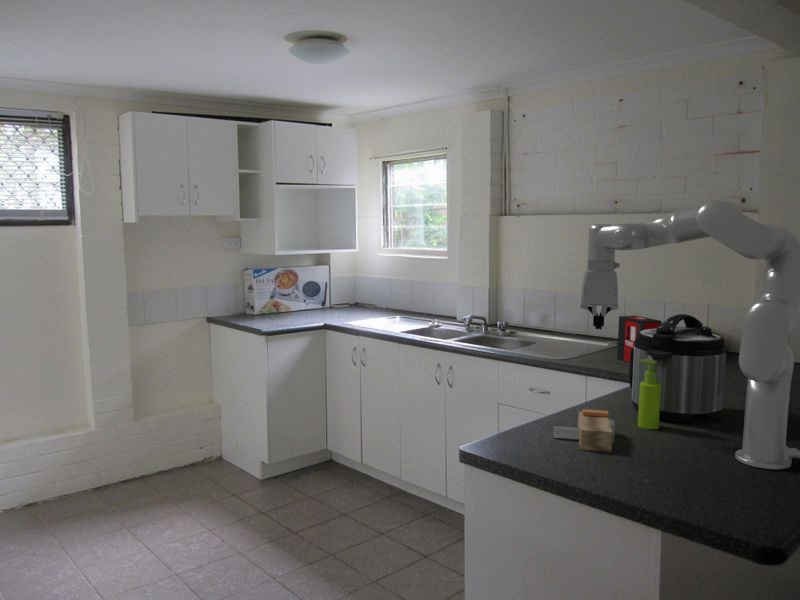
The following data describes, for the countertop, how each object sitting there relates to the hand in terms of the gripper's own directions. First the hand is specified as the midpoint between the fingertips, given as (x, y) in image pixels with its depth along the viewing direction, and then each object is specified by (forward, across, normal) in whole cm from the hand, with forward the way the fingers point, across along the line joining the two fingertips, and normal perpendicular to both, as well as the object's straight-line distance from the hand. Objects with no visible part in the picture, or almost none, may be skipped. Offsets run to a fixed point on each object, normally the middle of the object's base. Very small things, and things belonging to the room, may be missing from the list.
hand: (598, 328), depth 197 cm
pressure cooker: (+29, -25, -20) cm, 44 cm away
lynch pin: (+29, +4, +15) cm, 33 cm away
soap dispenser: (+29, -15, -2) cm, 33 cm away
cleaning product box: (+29, -23, -94) cm, 101 cm away
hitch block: (+29, +1, +15) cm, 33 cm away
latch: (+24, 0, +9) cm, 25 cm away
